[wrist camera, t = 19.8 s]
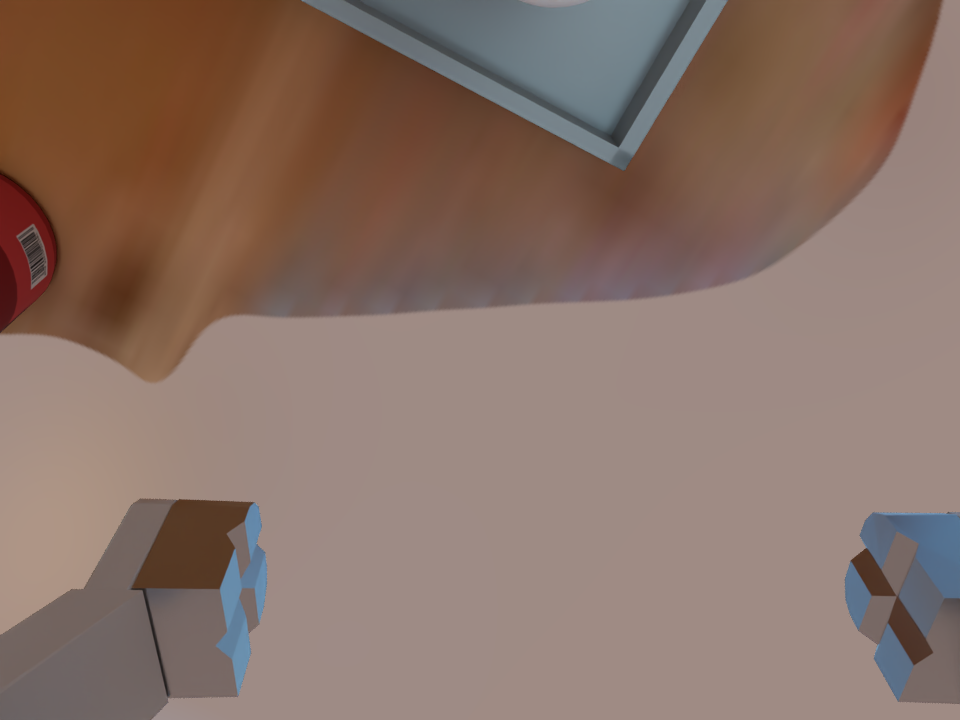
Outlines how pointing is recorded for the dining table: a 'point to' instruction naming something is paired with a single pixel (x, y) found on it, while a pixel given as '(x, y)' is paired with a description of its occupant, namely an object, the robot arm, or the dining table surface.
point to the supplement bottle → (554, 3)
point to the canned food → (22, 251)
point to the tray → (550, 57)
